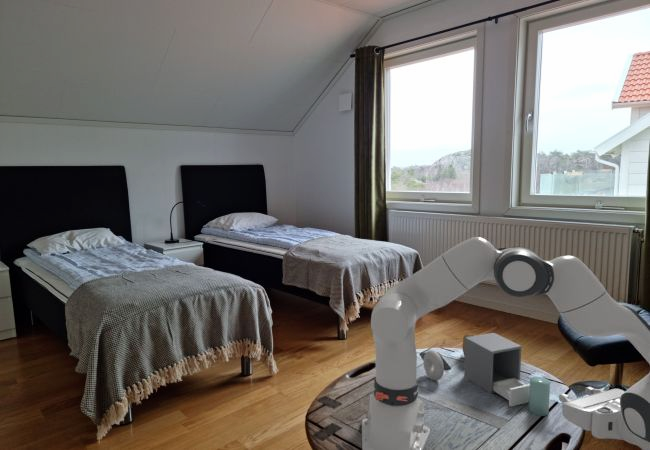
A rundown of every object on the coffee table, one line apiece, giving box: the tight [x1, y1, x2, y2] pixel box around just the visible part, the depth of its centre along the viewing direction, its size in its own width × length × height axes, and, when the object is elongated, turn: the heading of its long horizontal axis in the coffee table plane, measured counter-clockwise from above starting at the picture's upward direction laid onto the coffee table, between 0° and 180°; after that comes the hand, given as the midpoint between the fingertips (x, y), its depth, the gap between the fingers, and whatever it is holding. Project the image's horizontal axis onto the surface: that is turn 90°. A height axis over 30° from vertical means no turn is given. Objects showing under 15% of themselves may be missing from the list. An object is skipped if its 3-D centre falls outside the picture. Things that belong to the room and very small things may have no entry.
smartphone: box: [419, 351, 452, 371], centre depth 170 cm, size 8×15×1 cm, turn 5°
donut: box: [422, 349, 445, 381], centre depth 155 cm, size 10×4×10 cm, turn 18°
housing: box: [463, 332, 522, 394], centre depth 153 cm, size 13×12×14 cm
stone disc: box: [462, 332, 478, 357], centre depth 170 cm, size 10×4×10 cm, turn 7°
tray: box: [492, 378, 530, 407], centre depth 144 cm, size 12×12×5 cm
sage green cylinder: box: [528, 375, 551, 417], centre depth 134 cm, size 5×5×10 cm
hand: (574, 392), depth 123 cm, fingers open, 8 cm apart
